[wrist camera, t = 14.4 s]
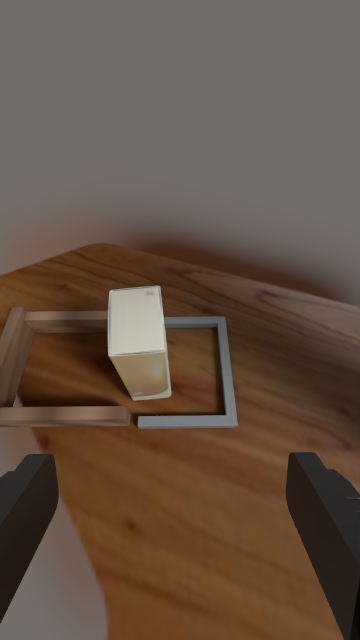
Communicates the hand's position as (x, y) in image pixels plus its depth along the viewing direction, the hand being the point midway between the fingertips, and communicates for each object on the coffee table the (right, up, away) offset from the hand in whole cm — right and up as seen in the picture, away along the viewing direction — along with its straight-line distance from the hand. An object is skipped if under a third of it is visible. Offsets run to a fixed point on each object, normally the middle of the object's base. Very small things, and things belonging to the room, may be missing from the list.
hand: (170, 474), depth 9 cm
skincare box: (-3, -1, +22) cm, 23 cm away
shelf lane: (-12, -1, +23) cm, 26 cm away
